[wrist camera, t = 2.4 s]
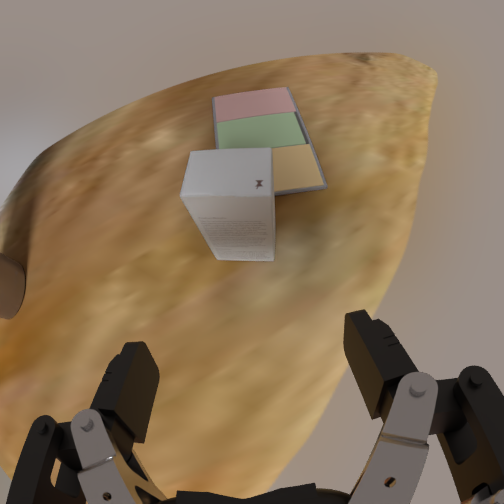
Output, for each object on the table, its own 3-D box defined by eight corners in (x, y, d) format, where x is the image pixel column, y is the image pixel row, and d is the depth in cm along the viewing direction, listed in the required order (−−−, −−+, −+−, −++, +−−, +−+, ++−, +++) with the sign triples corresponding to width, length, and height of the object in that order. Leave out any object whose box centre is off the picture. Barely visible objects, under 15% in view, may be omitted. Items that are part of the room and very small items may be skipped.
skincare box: (275, 224, 29) (274, 145, 18) (274, 262, 27) (274, 197, 16) (219, 223, 30) (189, 148, 18) (214, 261, 28) (177, 198, 17)
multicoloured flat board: (222, 204, 30) (221, 201, 30) (212, 100, 38) (211, 96, 37) (326, 188, 30) (327, 185, 29) (288, 89, 38) (288, 86, 37)
